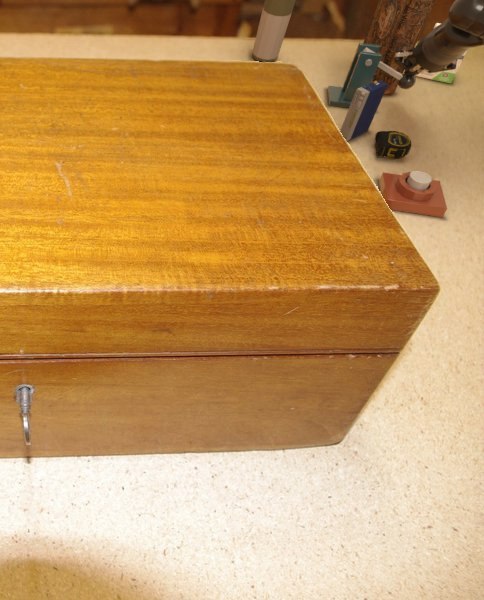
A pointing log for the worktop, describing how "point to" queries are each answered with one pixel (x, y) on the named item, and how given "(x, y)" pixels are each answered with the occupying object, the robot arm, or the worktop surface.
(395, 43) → the tree bark piece
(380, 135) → the tape measure
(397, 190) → the block
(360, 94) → the cassette player
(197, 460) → the worktop surface
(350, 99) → the bracket
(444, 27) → the robot arm
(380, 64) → the flush lever
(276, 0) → the bottle
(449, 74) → the white cardboard box
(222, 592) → the worktop surface
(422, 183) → the flush button
